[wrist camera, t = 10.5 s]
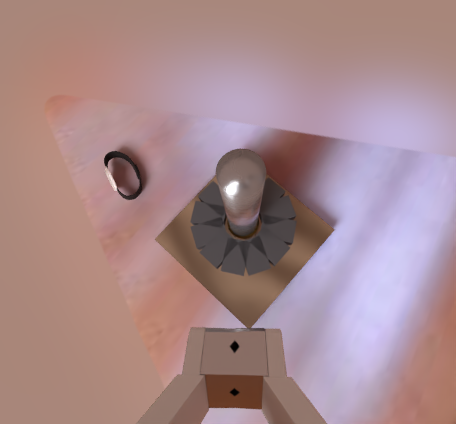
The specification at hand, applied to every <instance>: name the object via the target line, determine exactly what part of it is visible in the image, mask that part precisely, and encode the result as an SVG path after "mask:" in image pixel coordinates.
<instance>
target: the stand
mask: <svg viewBox="0 0 456 424" xmlns="http://www.w3.org/2000/svg"><path fill="white" fill-rule="evenodd" d="M268 177H269V178H270V179H272V178H271V177H270V176H269V175H267V174H266V178H265V180H266V179H267V178H268ZM272 180H273V181H274V182H275V183H276V184H278V183H277V182H276V181H275V180H274V179H272ZM212 181H214V182H215V183H216V184H218V182H217V178H216V176H215V177H214V178H213V179H212V180H211V181H210V182H209V183H208V184H207V185H206V186H205V187H204V188H203V189H202V190H201V191H200V192H199V193H198V194H197V196H196V197H195V198H194V199H193V200H192V201H191V202H190V203H189V204H188V205H187V206H186V207H185V208H184V209H183V210H182V211H181V212H180V213H179V214H178V216H177V217H176V218H175V219H174V220H173V221H172V222H171V223H170V224H169V225H168V226H167V227H166V228H165V229H164V230H163V231H162V232H161V233H160V234H159V235H158V237H157V238H156V239H155V240H156V241H157V242H158V243H159V244H160V245H161V246H162V247H163V248H164V249H165V250H166V251H168V252H169V253H170V254H171V255H172V256H173V257H174V258H175V259H176V260H177V261H178V262H179V263H180V264H181V265H182V266H183V267H184V268H185V269H186V270H187V271H188V272H189V273H190V274H191V275H193V276H194V277H195V278H196V279H197V280H198V281H199V282H200V283H201V284H202V285H203V286H204V287H205V288H206V289H207V290H208V291H209V292H210V293H211V294H212V295H213V296H214V297H215V298H217V299H218V300H219V301H220V302H221V303H222V304H223V305H224V306H225V307H226V308H227V309H228V310H229V311H230V312H231V313H232V314H233V315H234V316H235V317H236V318H237V319H238V320H239V321H241V322H242V323H243V324H244V325H245V326H246V327H247V328H251V327H252V326H253V325H254V323H255V322H256V321H257V320H258V319H259V318H260V316H261V315H262V314H263V313H264V312H265V311H266V309H267V308H268V307H269V306H270V305H271V304H272V302H273V301H274V300H275V299H276V298H277V297H278V295H279V294H280V293H281V292H282V291H283V290H284V288H285V287H286V286H287V285H288V284H289V283H290V281H291V280H292V279H293V278H294V277H295V275H296V274H297V273H298V272H299V271H300V270H301V268H302V267H303V266H304V265H305V264H306V263H307V261H308V260H309V259H310V258H311V257H312V256H313V254H314V253H315V252H316V251H317V250H318V249H319V247H320V246H321V245H322V244H323V243H324V242H325V240H326V239H327V238H328V237H329V236H330V235H331V233H332V232H333V231H334V229H333V228H332V227H331V226H330V225H328V224H327V223H326V222H325V221H323V220H322V219H321V218H320V217H319V216H317V215H316V214H315V213H314V212H313V211H311V210H310V209H309V208H308V207H306V206H305V205H304V204H303V203H302V202H300V201H299V200H298V199H297V198H295V197H294V196H293V195H292V194H291V193H289V192H288V191H287V190H286V189H284V188H283V187H282V186H281V185H280V184H278V185H279V186H280V187H281V188H282V189H284V190H285V194H284V196H287V195H289V198H290V200H291V203H292V206H293V208H294V211H295V214H296V217H295V218H294V220H295V221H297V223H296V229H295V234H294V240H293V244H291V245H288V246H289V247H290V249H289V250H288V251H287V253H286V254H285V255H284V256H283V257H282V258H281V260H280V261H279V262H278V263H277V264H276V265H275V266H273V265H272V264H271V263H270V266H271V269H268V270H265V271H262V272H259V273H256V274H253V275H250V276H248V273H247V269H246V267H245V272H244V276H241V275H236V274H232V273H227V272H223V271H221V266H222V265H221V266H220V267H219V268H218V269H217V268H215V267H214V266H213V265H212V264H211V263H210V262H209V261H208V260H207V259H206V258H205V257H204V256H203V255H201V254H200V253H199V252H200V251H201V250H198V249H197V248H196V244H195V241H194V238H193V234H192V231H191V226H194V225H193V224H192V223H191V222H190V221H191V217H192V213H193V209H194V205H195V201H200V199H199V198H198V196H199V195H200V194H201V192H202V191H203V190H204V189H205V188H206V187H207V186H208V185H209V184H210V183H211V182H212ZM284 196H283V197H284ZM200 202H201V201H200ZM258 219H259V226H258V230H257V232H256V233H255V236H256V235H257V234H258V233H259V231H260V230H261V225H262V223H261V220H260V217H259V216H258ZM227 221H228V218H226V223H225V228H226V231H227V233H228V234H229V235H231V236H232V234H231V233H230V231H229V229H228V225H227ZM232 237H233V236H232Z"/></svg>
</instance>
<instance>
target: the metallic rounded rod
mask: <svg viewBox="0 0 456 424" xmlns="http://www.w3.org/2000/svg"><path fill="white" fill-rule="evenodd" d="M216 178H217V182H218V186H219V189H220V193H221V197H222V200H223V204H224V207H225V211H226V215H227V218H228V221H227V225H228V229H229V231H230V233H231V234H232V236H233V238H234V239H238V240H243V241H245V240H248V239H251V238H254V237H255V233H256V232H257V230H258V226H259V219H258V216H259V211H260V205H261V200H262V195H263V189H264V184H265V178H266V167H265V164H264V162H263V160H262V159H261V157H260V156H259V155H258V154H256V153H255V152H253V151H250V150H247V149H235V150H232V151H230V152H228V153H226V154H225V155H224V156H223V157H222V158H221V159H220V161H219V162H218V164H217V167H216Z"/></svg>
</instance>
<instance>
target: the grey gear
mask: <svg viewBox="0 0 456 424" xmlns="http://www.w3.org/2000/svg"><path fill="white" fill-rule="evenodd" d="M284 194H285V190H284V189H282V188H281V187H280V186H279V185H278V184H276V183H275V182H274V181H273V180H272V179H270V178H269V177H268V178H267V179H266V180H265V184H264V189H263V195H262V200H261V205H260V211H259V217H260V220H261V223H262V225H261V230H260V231H259V233H258V234H257V235H256V236H255V237H254V238H251V239H248V240H245V241H243V240H238V239H234V238H233V237H232V236H231V235H229V234H228V233H227V231H226V228H225V223H226V218H227V215H226V211H225V207H224V204H223V200H222V197H221V193H220V189H219V186H218V184H216V183H215V182H214V181H212V182H211V183H210V184H209V185H208V186H207V187H206V188H205V189H204V190H203V191H202V192H201V194H200V195H199V196H198V198H199V199H200V201H201V202H200V201H195V205H194V209H193V213H192V217H191V221H190V222H191V223H192V224H193V225H194V226H191V231H192V234H193V238H194V241H195V244H196V248H197V249H198V250H201V251H200V252H199V253H200V254H201V255H203V256H204V257H205V258H206V259H207V260H208V261H209V262H210V263H211V264H212V265H213V266H214V267H215V268H217V269H218V268H219V267H220V266H221V265H222V266H221V271H223V272H227V273H232V274H236V275H241V276H244V272H245V267H246V269H247V273H248V276H250V275H253V274H256V273H259V272H262V271H265V270H268V269H271V266H270V263H271V264H272V265H273V266H275V265H276V264H277V263H278V262H279V261H280V260H281V258H282V257H283V256H284V255H285V254H286V253H287V251H288V250H289V249H290V247H289V246H288V245H291V244H293V240H294V234H295V229H296V223H297V221H295V220H294V218H295V217H296V214H295V211H294V208H293V206H292V203H291V200H290V198H289V195H287V196H284ZM283 196H284V197H283Z"/></svg>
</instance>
